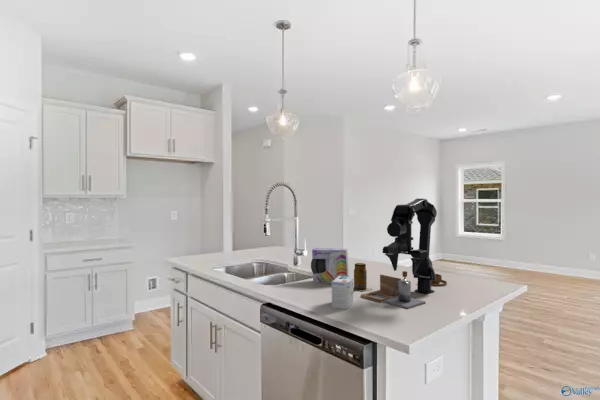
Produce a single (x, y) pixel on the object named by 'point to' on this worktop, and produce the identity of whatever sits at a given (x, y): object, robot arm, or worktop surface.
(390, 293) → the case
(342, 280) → the light bulb box
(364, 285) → the condiment
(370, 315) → the worktop surface
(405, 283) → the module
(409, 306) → the mat
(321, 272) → the cake pan box
